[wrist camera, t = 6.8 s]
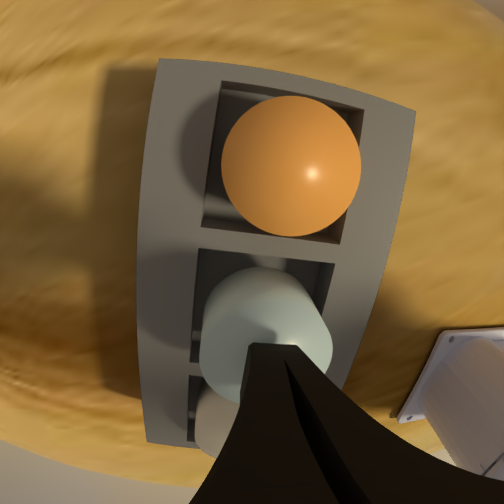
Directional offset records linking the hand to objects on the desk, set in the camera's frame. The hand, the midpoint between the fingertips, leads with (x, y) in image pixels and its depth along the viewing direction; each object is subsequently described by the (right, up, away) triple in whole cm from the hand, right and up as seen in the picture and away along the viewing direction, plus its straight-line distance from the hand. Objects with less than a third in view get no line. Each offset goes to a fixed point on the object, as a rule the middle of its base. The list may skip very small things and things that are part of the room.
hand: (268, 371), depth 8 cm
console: (0, +2, +6) cm, 6 cm away
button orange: (0, +7, +2) cm, 7 cm away
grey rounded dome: (0, +1, +3) cm, 3 cm away
